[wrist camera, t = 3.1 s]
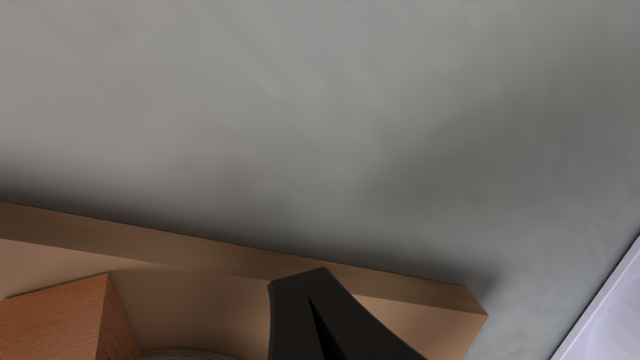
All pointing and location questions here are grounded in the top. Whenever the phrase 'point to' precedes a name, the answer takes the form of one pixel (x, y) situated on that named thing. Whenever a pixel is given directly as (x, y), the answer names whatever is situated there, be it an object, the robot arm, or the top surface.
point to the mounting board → (214, 285)
